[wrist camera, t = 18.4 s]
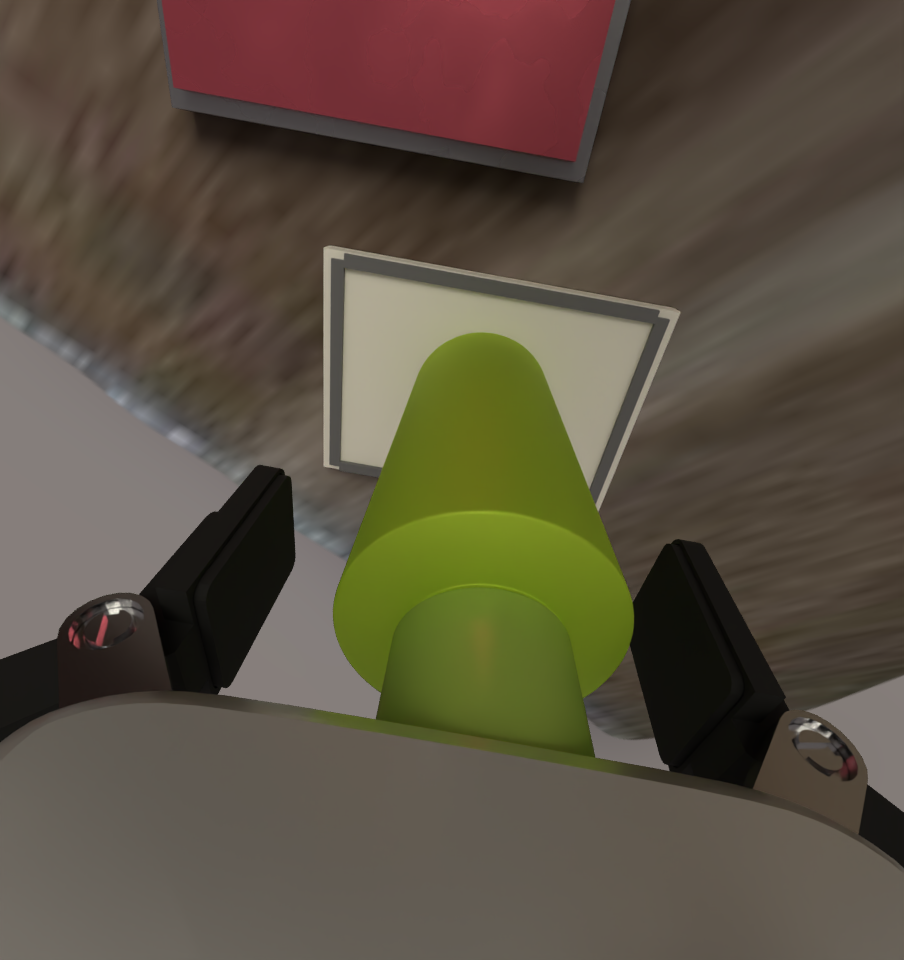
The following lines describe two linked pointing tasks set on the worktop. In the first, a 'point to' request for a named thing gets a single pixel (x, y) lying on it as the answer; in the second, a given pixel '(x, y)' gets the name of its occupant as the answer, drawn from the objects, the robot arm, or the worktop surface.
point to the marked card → (471, 309)
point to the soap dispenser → (484, 561)
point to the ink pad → (406, 73)
